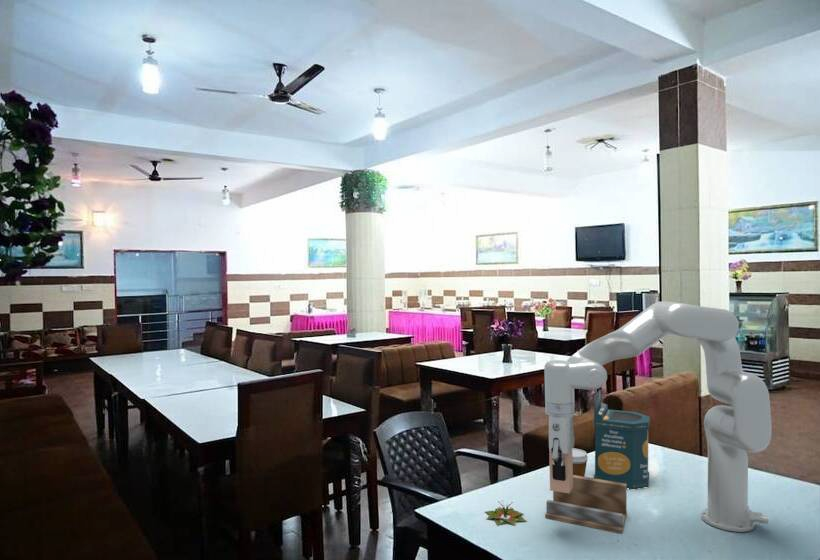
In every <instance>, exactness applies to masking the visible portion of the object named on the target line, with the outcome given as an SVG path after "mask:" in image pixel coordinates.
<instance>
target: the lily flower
mask: <svg viewBox="0 0 820 560" xmlns="http://www.w3.org/2000/svg"><path fill="white" fill-rule="evenodd" d="M497 502H498V503H499V504H500V505H501V506H498V507H497V508H495V509H494V510H487V511H485V513H486V514H488V517H487V518H486V520H491V519H494V521H495V523H496V525H497V526H499V525H502V524H505V523H509V524H510V525H513V526H516V522H527V520H526V519H525V518H524V517H522V516H520V515H523V513H522V512H520V511H518V510H515V509H514V508H512V505H511V504H513V501H511V502H510V503H509V504H506V506H505V504H504V500H503V499H502V500H501V502H503V504H502V503H501V502H500V501H497ZM502 516H503V517H504V518H503V517H502ZM507 517H508V518H507ZM501 520H502V521H501Z"/></svg>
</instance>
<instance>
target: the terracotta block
mask: <svg viewBox="0 0 820 560" xmlns="http://www.w3.org/2000/svg"><path fill="white" fill-rule="evenodd" d="M559 453H562V451H559ZM548 455H549V457H548V458H549V460H548V461H549V491H552V492H553V491H557V492H563V493H570V492H571V490H572V488H573V458H572V450H571V452H570V453H569V454H568V455H565V454H564V465H565V476H566V479H565V481H561V480H554V479H553V469H552V461H553V458H552V455H553V453H551V452H550V451H549V453H548ZM559 457H560V458H561V455H559Z"/></svg>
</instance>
